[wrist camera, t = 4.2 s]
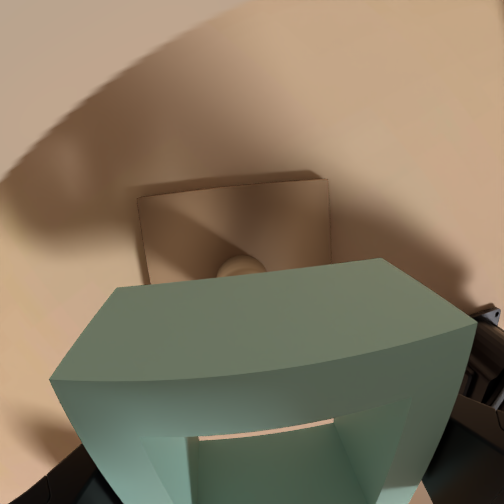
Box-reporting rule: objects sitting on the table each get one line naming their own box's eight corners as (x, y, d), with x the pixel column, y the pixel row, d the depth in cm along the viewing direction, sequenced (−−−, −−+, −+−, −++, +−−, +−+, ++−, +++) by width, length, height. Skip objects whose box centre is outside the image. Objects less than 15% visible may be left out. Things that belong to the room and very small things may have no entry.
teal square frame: (381, 257, 8) (478, 322, 4) (361, 436, 10) (400, 516, 6) (116, 287, 8) (48, 379, 4) (173, 461, 10) (165, 551, 6)
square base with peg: (323, 178, 17) (362, 185, 12) (326, 338, 20) (355, 387, 15) (140, 197, 17) (109, 210, 12) (170, 357, 19) (158, 412, 14)
